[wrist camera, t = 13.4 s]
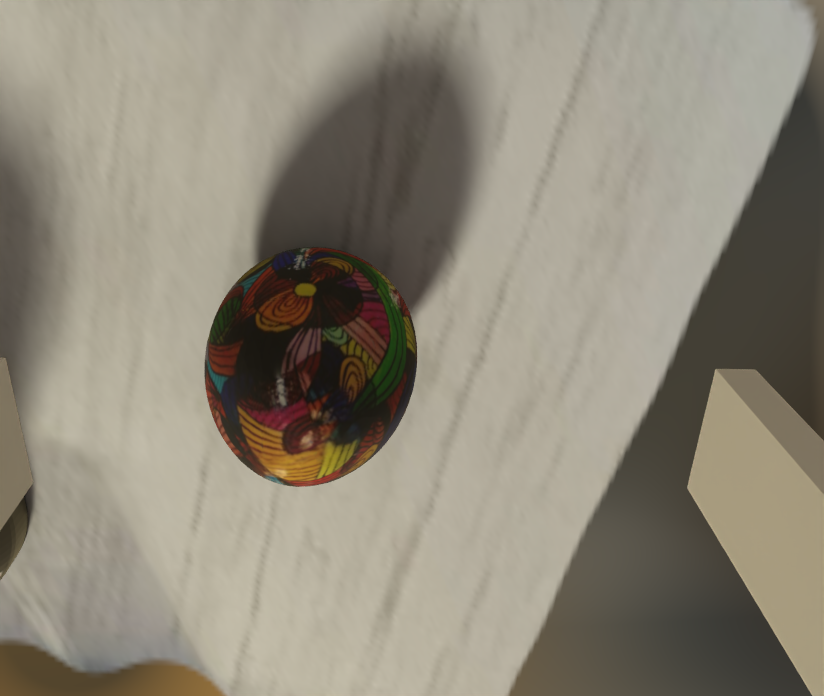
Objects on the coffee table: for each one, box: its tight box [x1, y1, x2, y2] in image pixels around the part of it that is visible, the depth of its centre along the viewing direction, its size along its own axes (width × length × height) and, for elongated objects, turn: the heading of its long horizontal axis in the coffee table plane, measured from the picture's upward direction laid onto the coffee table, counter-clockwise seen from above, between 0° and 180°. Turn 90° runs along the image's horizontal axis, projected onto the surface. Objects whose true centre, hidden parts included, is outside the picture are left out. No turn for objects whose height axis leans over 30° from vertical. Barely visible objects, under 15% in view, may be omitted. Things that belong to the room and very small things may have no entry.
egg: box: [205, 247, 417, 487], centre depth 38 cm, size 11×11×15 cm
